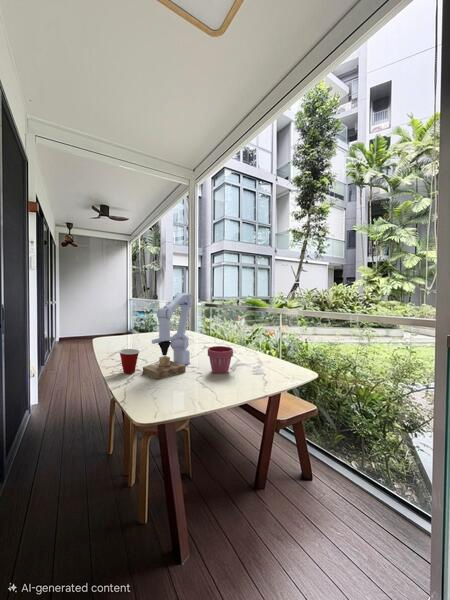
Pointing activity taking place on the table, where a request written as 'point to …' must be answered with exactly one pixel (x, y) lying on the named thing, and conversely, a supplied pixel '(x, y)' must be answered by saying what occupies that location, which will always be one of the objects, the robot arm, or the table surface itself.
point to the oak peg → (164, 362)
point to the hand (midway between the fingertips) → (164, 355)
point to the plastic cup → (129, 360)
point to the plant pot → (220, 358)
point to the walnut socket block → (164, 370)
